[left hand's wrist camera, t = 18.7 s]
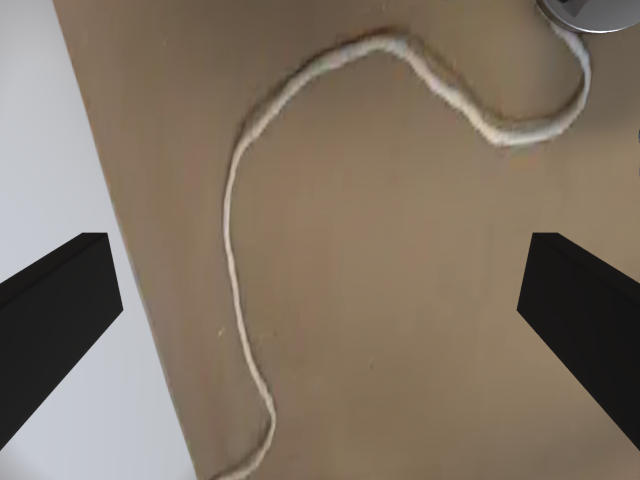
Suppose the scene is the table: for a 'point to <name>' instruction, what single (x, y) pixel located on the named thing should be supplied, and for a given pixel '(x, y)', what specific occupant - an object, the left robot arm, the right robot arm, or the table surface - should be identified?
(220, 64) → the table surface
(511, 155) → the table surface
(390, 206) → the table surface
